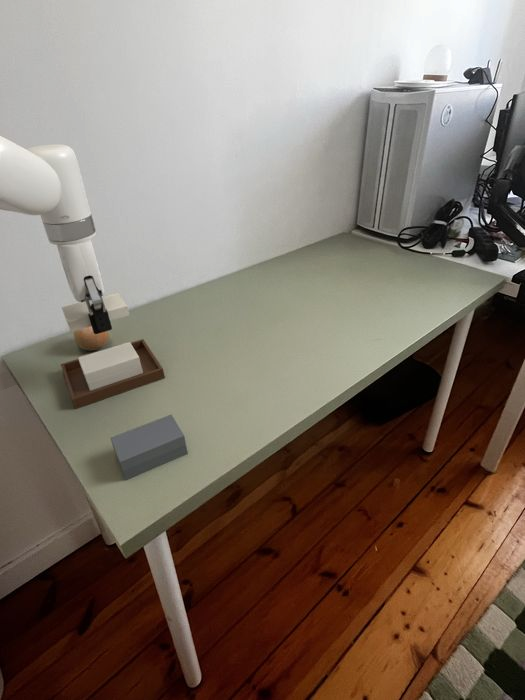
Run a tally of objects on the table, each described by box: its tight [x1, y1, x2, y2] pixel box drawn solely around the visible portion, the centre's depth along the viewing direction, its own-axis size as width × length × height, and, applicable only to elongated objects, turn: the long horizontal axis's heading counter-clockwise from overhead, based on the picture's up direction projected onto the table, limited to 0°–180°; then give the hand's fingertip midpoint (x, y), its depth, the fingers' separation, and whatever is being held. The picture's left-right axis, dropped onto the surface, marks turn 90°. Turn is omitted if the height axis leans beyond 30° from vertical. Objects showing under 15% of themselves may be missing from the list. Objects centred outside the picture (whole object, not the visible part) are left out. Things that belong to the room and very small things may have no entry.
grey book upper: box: [110, 414, 187, 471], centre depth 67 cm, size 10×6×2 cm, turn 120°
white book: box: [61, 292, 130, 333], centre depth 79 cm, size 10×7×2 cm, turn 120°
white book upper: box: [77, 341, 141, 383], centre depth 85 cm, size 10×7×2 cm, turn 120°
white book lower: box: [83, 365, 143, 391], centre depth 87 cm, size 10×7×2 cm, turn 120°
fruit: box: [73, 326, 110, 351], centre depth 95 cm, size 8×7×8 cm
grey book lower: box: [112, 444, 188, 481], centre depth 69 cm, size 10×6×2 cm, turn 120°
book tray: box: [60, 338, 166, 410], centre depth 87 cm, size 17×13×2 cm
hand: (98, 322), depth 81 cm, fingers closed on white book, 6 cm apart
